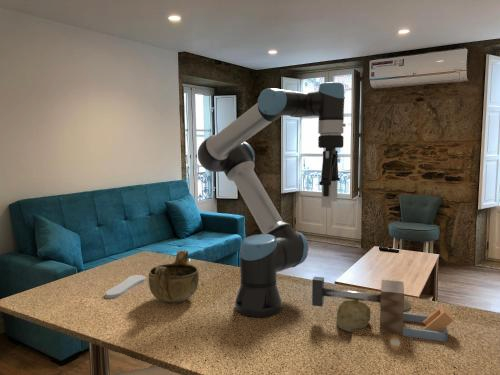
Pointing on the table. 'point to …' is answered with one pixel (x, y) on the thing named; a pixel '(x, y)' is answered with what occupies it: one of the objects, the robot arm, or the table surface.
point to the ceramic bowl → (174, 280)
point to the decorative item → (353, 315)
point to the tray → (422, 333)
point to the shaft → (338, 293)
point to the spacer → (438, 320)
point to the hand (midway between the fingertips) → (329, 204)
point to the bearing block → (392, 307)
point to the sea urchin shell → (405, 304)
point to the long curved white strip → (125, 286)
